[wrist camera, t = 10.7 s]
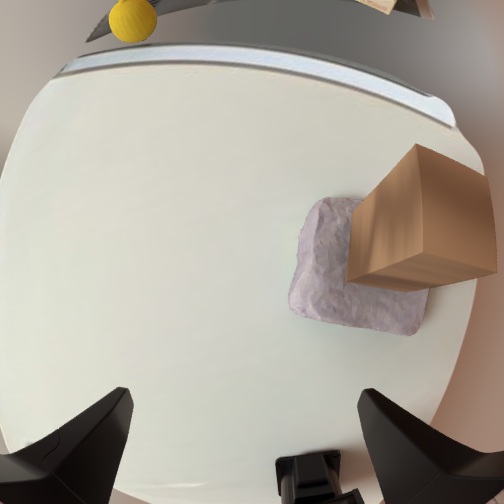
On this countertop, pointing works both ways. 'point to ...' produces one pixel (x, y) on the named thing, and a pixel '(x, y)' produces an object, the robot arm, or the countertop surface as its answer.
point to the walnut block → (423, 226)
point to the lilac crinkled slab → (333, 278)
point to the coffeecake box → (380, 5)
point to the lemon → (132, 20)
